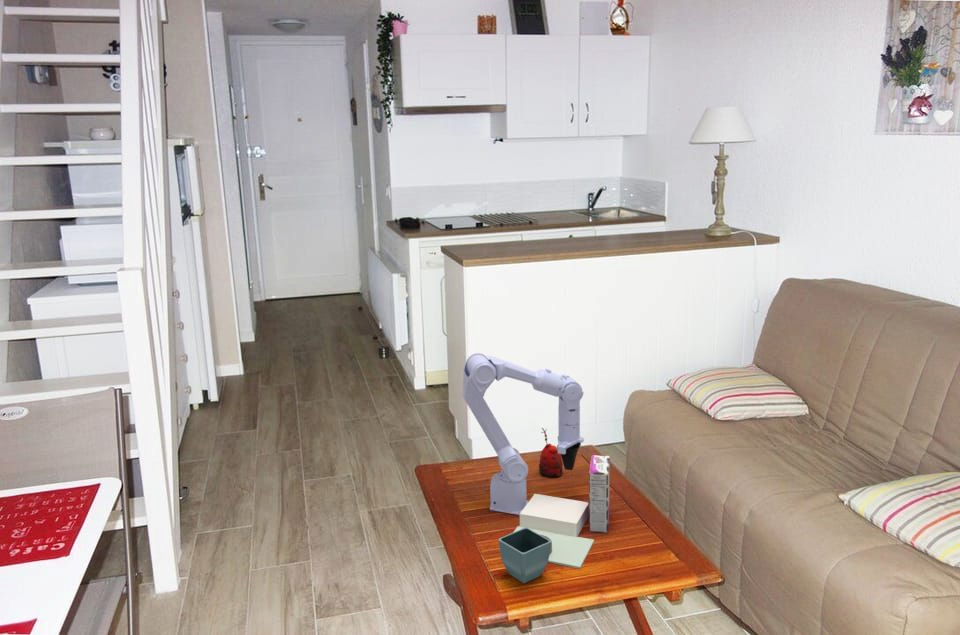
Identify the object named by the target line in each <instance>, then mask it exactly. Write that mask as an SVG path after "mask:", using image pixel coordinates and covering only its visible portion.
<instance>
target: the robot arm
mask: <svg viewBox="0 0 960 635" xmlns="http://www.w3.org/2000/svg"><path fill="white" fill-rule="evenodd" d="M462 372H463V380H462V381H463V382H462V397H463V399H464V401H465V402H466V404H467V406H468V408H469V410H470V411H471V413H472V414H473V416H474V418H475V420H476V421H477V423H478V424H479V426H480V427H481V429H482V431H483V433H484V434H485V436H486V438H487V439H488V441H489V443H490V444H491V446H492V448H493V450H494V451H495V453H496V455H497V463H498V465H499V466H500V467H501V470H500V471H499V473H494V474H493V475H492V477H491V480H490V485H489V488H490V489H489V492H490V507H489V510H490V511H495V512H499V513H504V514H505V513H506V514H509V515H510V514H511V515H515V516H520V513H521V511H522V510H523V509H524V507H525V506H526V505H527V503H528V502H529V501H530V500H527V476H528V474H529V466H528V463H527V462H525V461H524V459H523V458H522V456H521V454H520V451H519V450H518V449H516V448H514V447H513V445H512V444H511V443H510V441H509V440H508V438H507V436H506V434H505V432H504V431H503V429H502V426H501V425H500V424H499V422H498V421H497V418H496V417H495V416H494V413H493V412H492V410H491V408H490V407H489V405H488V403H487V402H486V400H485V398H484V396H485V393H486V392H487V390H488V389H489V388H490V386H491V385H492V384H493V383H494V381H495V380H496V382H499V381H500V380H503V379H505V378H510V379H513V380H517V381H520V382H524V383H527V384H531V385H532V388H533V390H535V391H538V392H541V393H543V394H547V395H550V396H554V397H556V398H557V397H558V410H557V411H558V412H557V414H558V419H557V420H558V428H557V429H558V436H557V443H558V444H557V446H556V447H557V449H558V453H559V454H560V455H561V458H562V463H563V465H562V466H563V468H564V470H568V471H572V470H573V469H574V468H575V463H576V459H577V458H576V457H577V454H578V451H579V449H580V447H581V446H582V443H584V441H585V438H584V437H581V435H580V433H581V431H580V430H581V428H580V426H581V424H580V423H581V422H580V421H581V420H580V419H581V413H580V412H581V405H580V403H581V400H582V398H583V396H584V391H583V387H582V386H581V385H580V384H579V383H578V381H576V380H575V379H574V378H573V377H570V376H569V375H566V374H562V375H560V374H558V373H554V372H552V370H551V369H549V368H545V370H544V369H541V368H540V369H538V370H536V371H533V370H531V369H528V368H525V367H523V366H520V365H517V364H514V363H512V362H510V361H507V360H504V359H501V358H498V357H496V356H492V355H485V354H483V353H479V352H478V353H477V352H476V353H472V354H471V355H470V356H468V358H467V359H466V361H465V364H464V365H463V368H462Z"/></svg>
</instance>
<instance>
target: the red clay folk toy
mask: <svg viewBox="0 0 960 635" xmlns="http://www.w3.org/2000/svg"><path fill="white" fill-rule="evenodd" d="M541 430H543V431H542V432H541V434H542V433H544V437H545V438H544V441H545V442H546V445H545V446H544V447H543V448H542V450H541V453H540V455H539V456H540V457H539V458H540V459H539V464H538V466H539V467H538V470H539V473H540V474H541V475H544V476H545V477H548V476H549V478H554V477H556V478H559V477H560V476H561V475H562V474H563V468H564V465H563V460H562V457H561V455H560V454H559V453H558V449H557V446H555V445H552V443H548V435H547V432H546V431H547V430H548V429H547V428H545V429H544V428H543V427H542V428H541Z"/></svg>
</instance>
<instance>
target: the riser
mask: <svg viewBox="0 0 960 635" xmlns="http://www.w3.org/2000/svg"><path fill="white" fill-rule="evenodd" d="M528 501H529V502H528V503H527V505H526V506H525V507H524V509H523V510H522V511H521V513H520V515H519V526H522V527H527V528H533V529H538V530H544V531H549V532H554V533H560V534H565V535H571V536H576V537H579V535H580V534H581V531H582V529H583V528H584V526H585V525H586V523H587V521H588V519H589V502H587V501H581V500H577V499H576V500H575V499H570V498H562V497H557V496H550V495H545V494H538V493H534V494H533V496H531V498H530V499H529V500H528Z"/></svg>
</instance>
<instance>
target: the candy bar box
mask: <svg viewBox="0 0 960 635" xmlns="http://www.w3.org/2000/svg"><path fill="white" fill-rule="evenodd" d="M590 456H591V457H590V463H589V464H590V465H589V472H588V478H589V479H588V483H589V484H588V493H589V496H588V497H589V499H588V500H589V502H588V503H589V517H588V519H589V521H588V522H589V523H588V524H589V527H588V528H589V530H588V531H589V532H591V533H607V534H608V533H609V522H610V455H597V454H592V455H590Z"/></svg>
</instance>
